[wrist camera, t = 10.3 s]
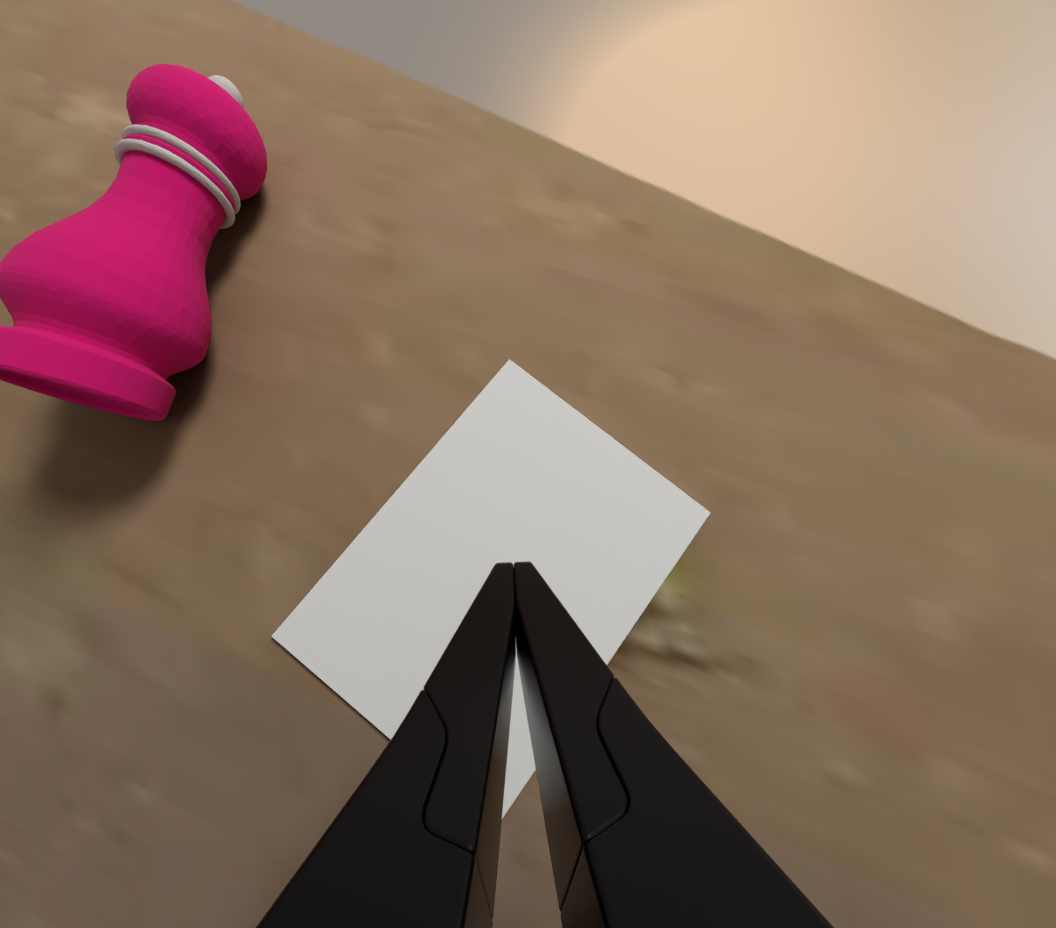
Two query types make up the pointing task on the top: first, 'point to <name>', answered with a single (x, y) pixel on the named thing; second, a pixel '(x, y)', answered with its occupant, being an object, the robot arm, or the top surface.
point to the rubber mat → (492, 551)
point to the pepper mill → (134, 253)
